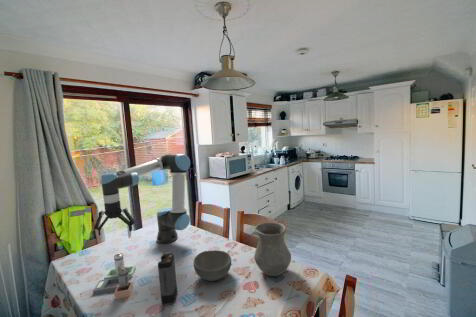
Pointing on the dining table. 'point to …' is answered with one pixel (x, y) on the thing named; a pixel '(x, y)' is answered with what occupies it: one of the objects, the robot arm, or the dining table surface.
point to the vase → (272, 249)
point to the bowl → (212, 264)
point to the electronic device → (167, 279)
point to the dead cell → (123, 278)
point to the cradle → (105, 286)
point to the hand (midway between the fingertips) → (116, 238)
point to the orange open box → (123, 292)
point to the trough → (112, 274)
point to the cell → (118, 262)
